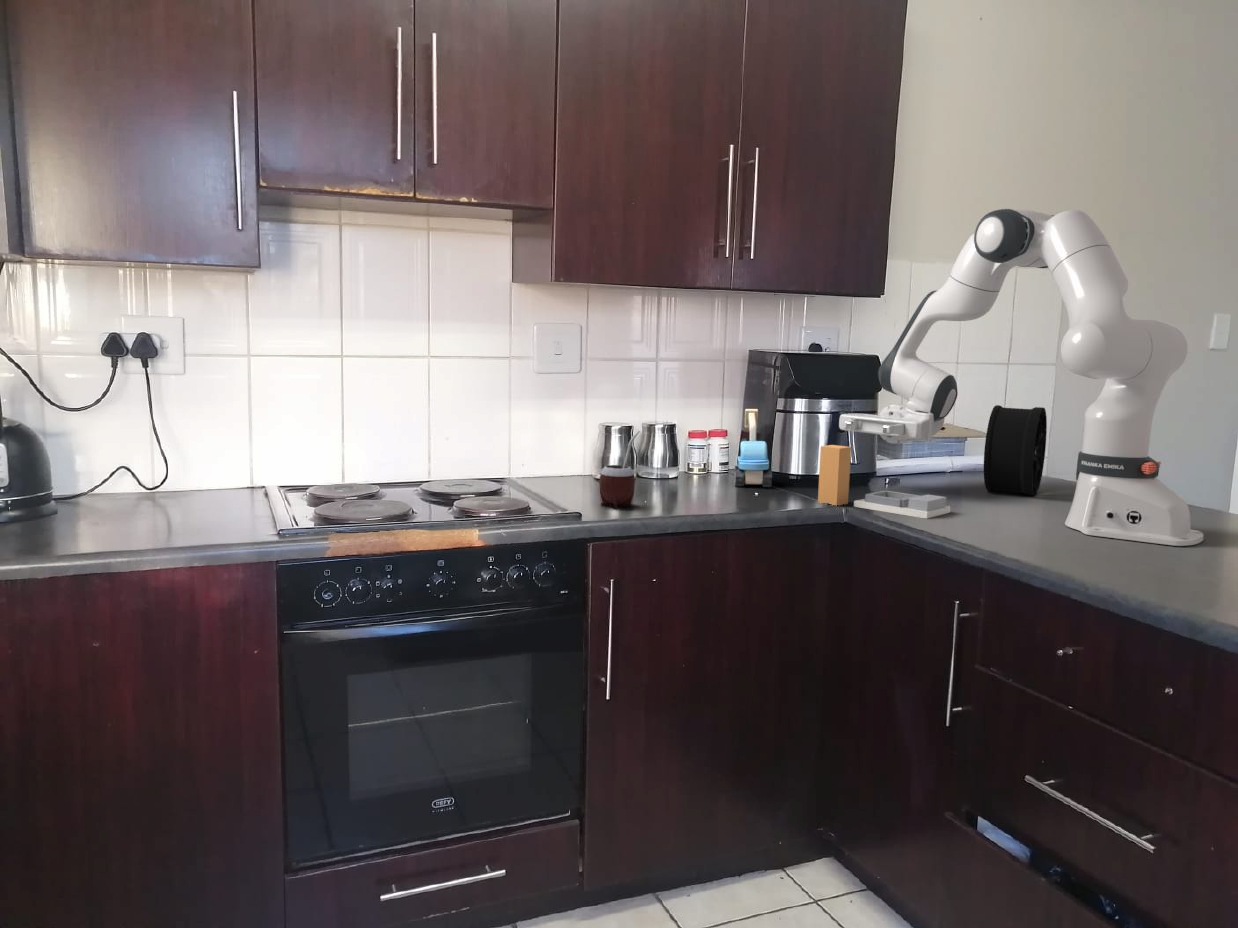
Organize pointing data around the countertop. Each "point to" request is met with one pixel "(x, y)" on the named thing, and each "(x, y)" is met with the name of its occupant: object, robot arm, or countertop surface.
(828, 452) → the tall tan wooden block
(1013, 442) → the car wheel rim
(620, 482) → the mate gourd
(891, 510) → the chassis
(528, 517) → the countertop surface
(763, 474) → the toy excavator
